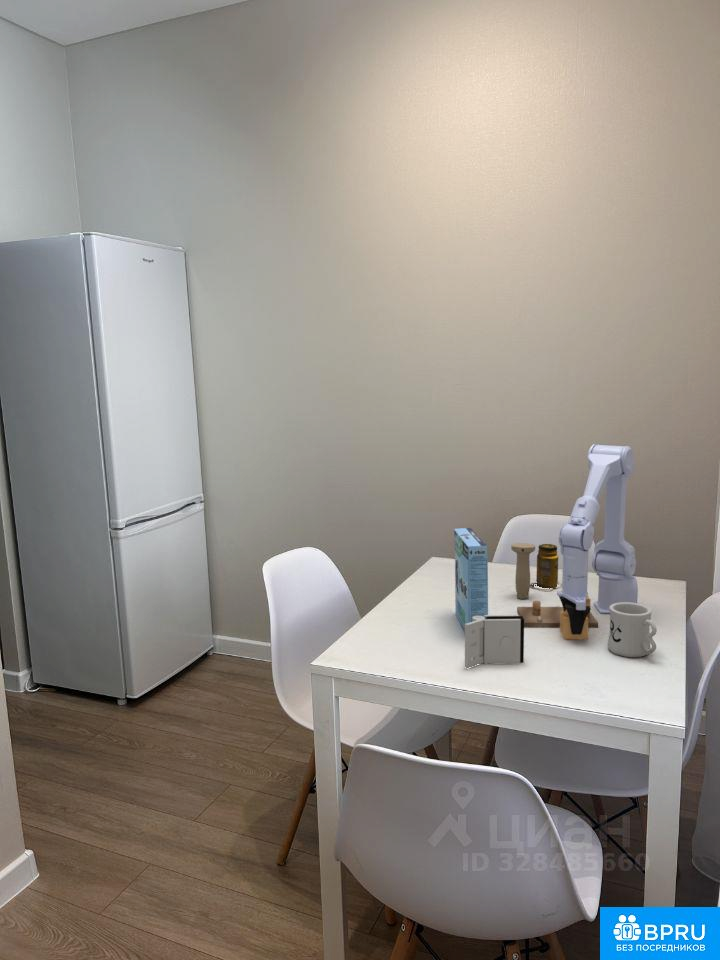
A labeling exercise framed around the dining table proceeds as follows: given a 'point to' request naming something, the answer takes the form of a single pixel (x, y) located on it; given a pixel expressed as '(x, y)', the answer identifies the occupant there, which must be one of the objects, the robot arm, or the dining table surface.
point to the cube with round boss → (566, 628)
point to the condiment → (547, 567)
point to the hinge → (494, 639)
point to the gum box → (470, 575)
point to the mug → (631, 630)
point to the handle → (523, 568)
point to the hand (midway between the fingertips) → (573, 629)
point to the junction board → (548, 616)
